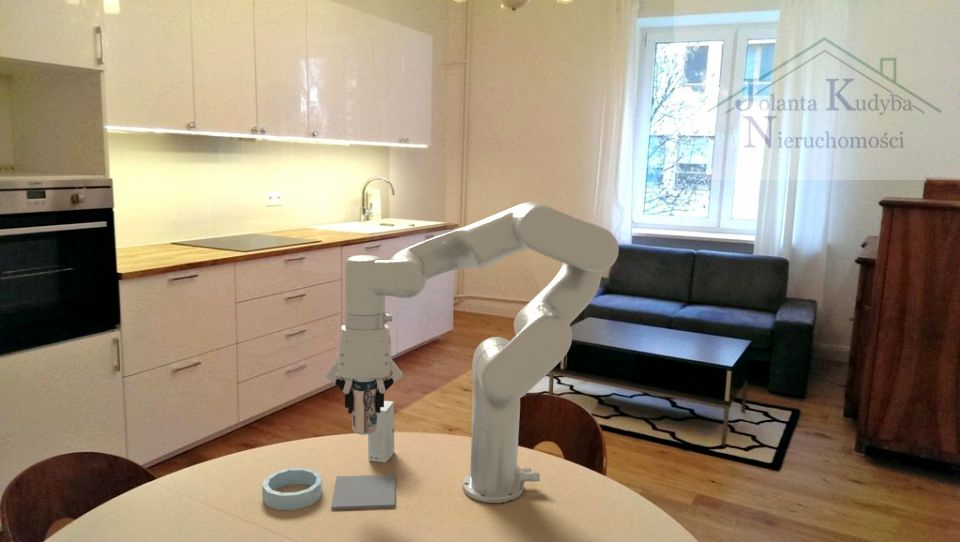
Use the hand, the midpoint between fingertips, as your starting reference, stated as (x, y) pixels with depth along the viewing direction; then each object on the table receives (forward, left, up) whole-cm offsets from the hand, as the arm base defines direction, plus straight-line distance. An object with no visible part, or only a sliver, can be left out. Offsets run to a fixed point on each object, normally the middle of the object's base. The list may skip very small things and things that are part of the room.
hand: (364, 409), depth 129 cm
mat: (0, 0, -18) cm, 18 cm away
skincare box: (-3, -16, -18) cm, 24 cm away
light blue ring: (+14, 0, -18) cm, 22 cm away
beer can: (0, 0, -5) cm, 5 cm away
